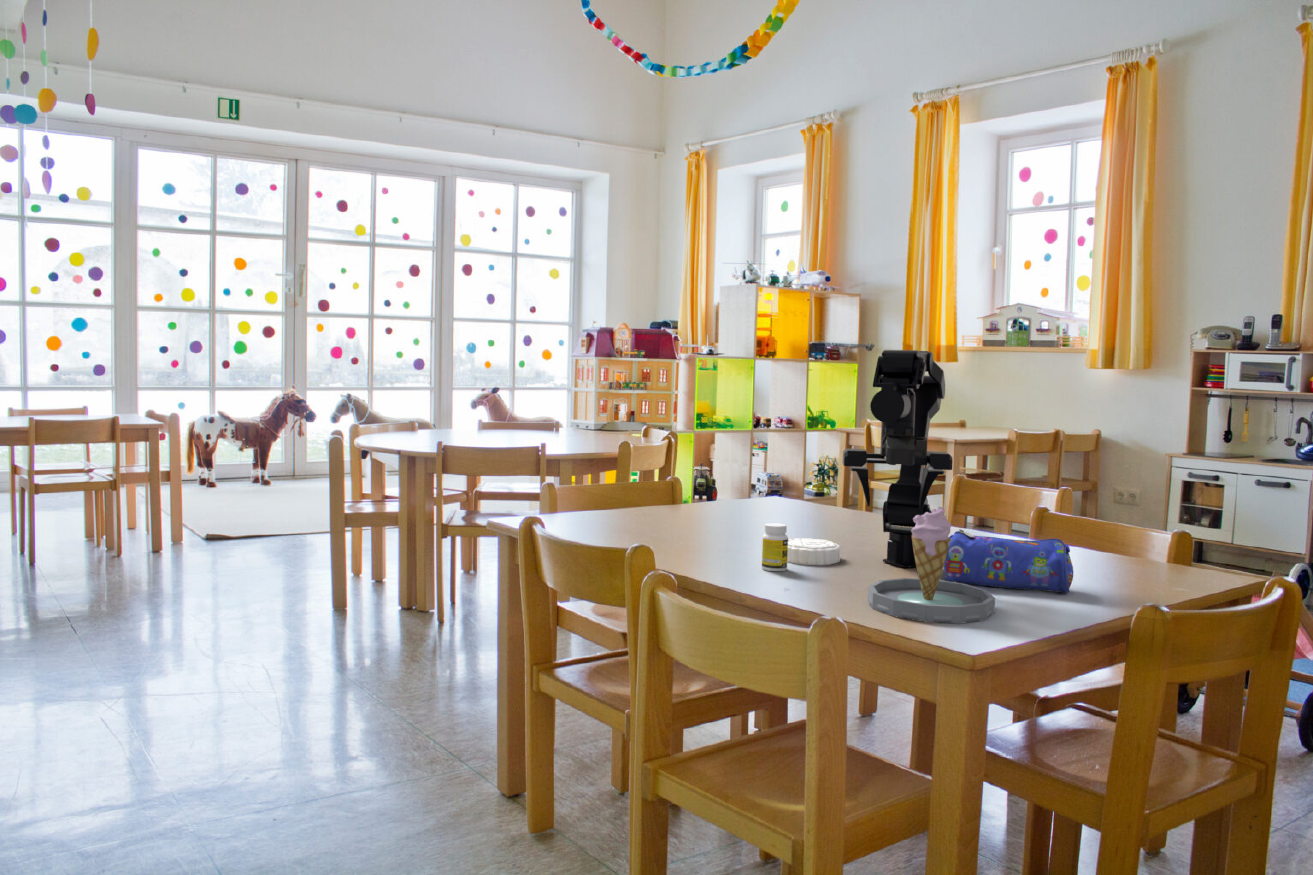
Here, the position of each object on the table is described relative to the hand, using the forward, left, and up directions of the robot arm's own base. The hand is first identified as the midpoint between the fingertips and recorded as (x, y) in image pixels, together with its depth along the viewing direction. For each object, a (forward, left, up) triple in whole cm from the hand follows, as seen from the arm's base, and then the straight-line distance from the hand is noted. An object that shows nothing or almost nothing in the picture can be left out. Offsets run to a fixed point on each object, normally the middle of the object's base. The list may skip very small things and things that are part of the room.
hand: (894, 507), depth 173 cm
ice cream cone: (+8, +19, -12) cm, 24 cm away
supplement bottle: (+16, -14, -13) cm, 25 cm away
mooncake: (+4, -20, -14) cm, 24 cm away
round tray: (+8, +19, -13) cm, 24 cm away
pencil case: (-15, +12, -13) cm, 24 cm away
